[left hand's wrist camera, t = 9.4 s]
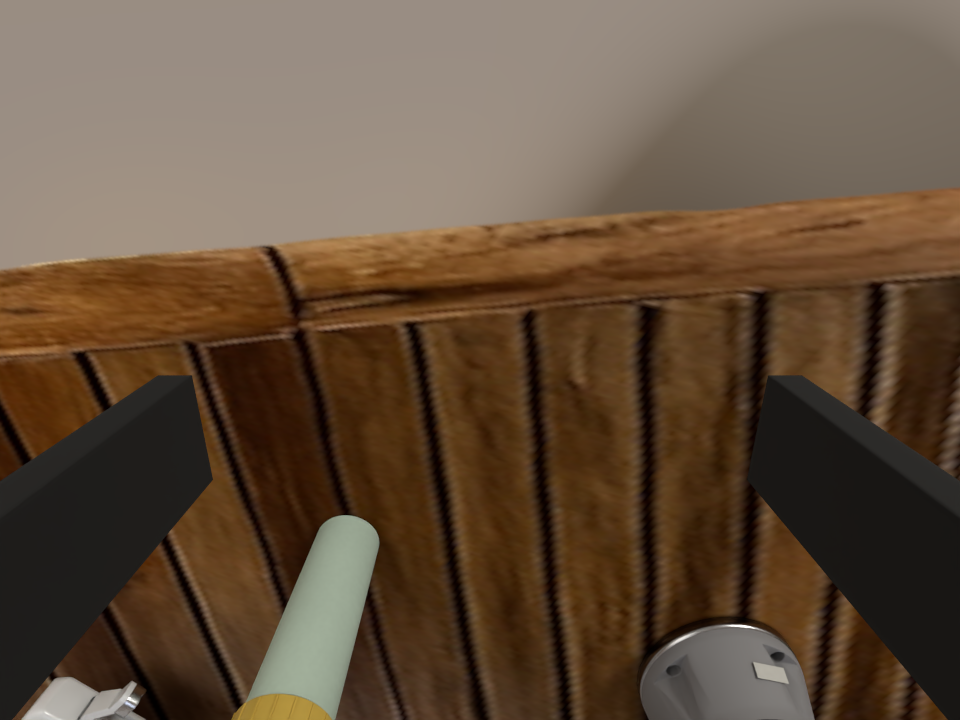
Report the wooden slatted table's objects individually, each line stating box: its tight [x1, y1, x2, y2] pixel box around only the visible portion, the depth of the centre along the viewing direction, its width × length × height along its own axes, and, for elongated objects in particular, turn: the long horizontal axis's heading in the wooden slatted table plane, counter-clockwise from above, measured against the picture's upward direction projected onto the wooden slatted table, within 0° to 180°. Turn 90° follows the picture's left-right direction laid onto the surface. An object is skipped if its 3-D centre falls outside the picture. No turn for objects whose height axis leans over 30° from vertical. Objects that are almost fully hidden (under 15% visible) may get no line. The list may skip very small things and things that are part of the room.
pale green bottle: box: [246, 515, 379, 720], centre depth 39 cm, size 6×6×18 cm
